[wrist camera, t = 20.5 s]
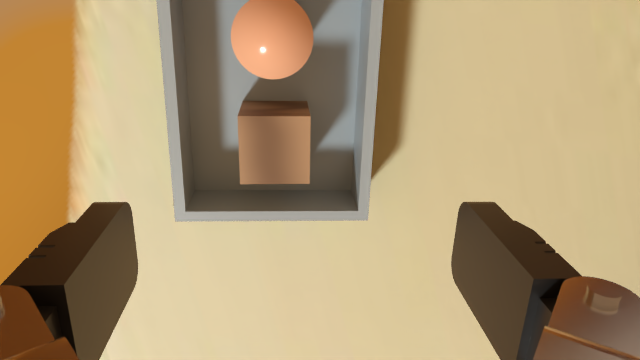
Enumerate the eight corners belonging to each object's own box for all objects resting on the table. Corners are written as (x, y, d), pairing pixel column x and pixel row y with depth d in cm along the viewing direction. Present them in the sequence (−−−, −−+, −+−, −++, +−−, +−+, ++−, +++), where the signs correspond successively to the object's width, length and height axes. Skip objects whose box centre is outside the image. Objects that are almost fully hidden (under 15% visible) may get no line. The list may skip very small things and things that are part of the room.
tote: (374, -55, 35) (388, -61, 31) (358, 195, 43) (367, 220, 38) (168, -63, 34) (150, -71, 30) (187, 195, 41) (175, 221, 37)
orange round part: (308, -8, 35) (314, -5, 29) (307, 62, 37) (312, 79, 31) (238, -10, 35) (228, -7, 29) (241, 61, 37) (232, 79, 30)
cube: (307, 101, 38) (310, 116, 34) (306, 161, 40) (309, 183, 36) (242, 100, 38) (237, 116, 33) (244, 161, 40) (240, 184, 35)
